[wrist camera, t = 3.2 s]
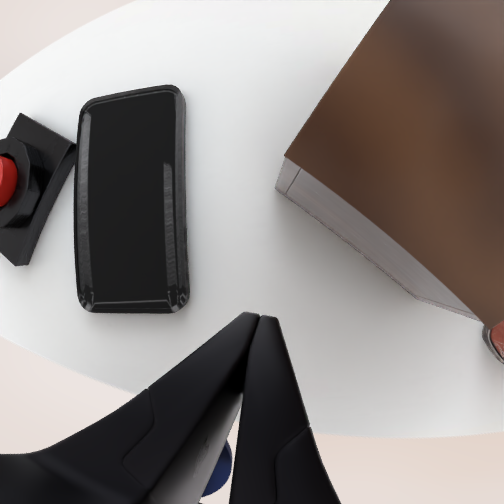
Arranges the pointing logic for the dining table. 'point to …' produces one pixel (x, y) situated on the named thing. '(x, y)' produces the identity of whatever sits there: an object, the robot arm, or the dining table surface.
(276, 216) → the dining table surface
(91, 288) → the phone
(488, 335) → the lighter
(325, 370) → the dining table surface
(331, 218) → the chest
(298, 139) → the lid
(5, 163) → the button
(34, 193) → the button base
